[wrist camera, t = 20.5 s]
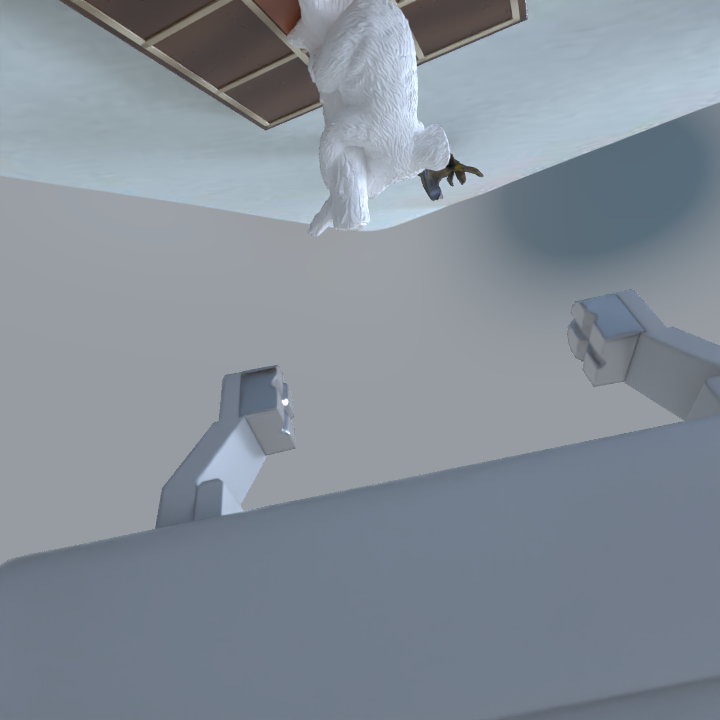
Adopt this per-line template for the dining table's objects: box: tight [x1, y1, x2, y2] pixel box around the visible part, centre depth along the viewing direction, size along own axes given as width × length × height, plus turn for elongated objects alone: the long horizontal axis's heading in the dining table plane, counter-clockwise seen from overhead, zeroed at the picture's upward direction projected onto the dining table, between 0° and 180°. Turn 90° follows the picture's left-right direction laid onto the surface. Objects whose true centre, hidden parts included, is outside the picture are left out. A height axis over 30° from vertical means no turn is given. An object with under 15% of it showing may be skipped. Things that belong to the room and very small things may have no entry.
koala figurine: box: [287, 0, 450, 237], centre depth 27 cm, size 8×7×12 cm
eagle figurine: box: [418, 154, 483, 201], centre depth 51 cm, size 8×7×9 cm
